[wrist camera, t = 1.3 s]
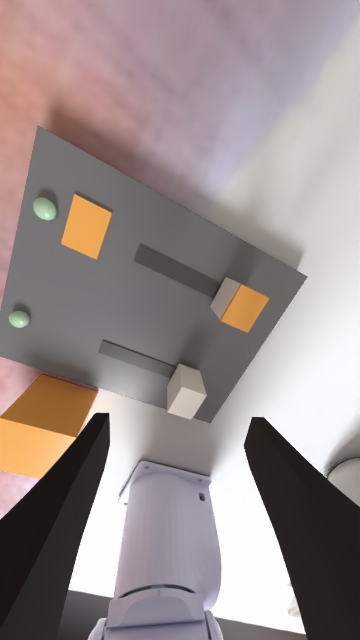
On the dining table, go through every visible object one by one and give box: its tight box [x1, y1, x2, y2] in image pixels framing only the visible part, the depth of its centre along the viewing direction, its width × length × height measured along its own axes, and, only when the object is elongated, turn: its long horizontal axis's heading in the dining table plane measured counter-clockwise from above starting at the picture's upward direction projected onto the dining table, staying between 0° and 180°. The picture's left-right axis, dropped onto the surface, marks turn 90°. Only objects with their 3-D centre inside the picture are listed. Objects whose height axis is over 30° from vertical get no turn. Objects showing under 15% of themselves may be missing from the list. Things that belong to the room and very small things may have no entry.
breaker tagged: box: [210, 277, 269, 333], centre depth 13 cm, size 2×2×3 cm
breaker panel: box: [0, 126, 307, 423], centre depth 16 cm, size 20×16×2 cm
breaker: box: [167, 364, 207, 420], centre depth 16 cm, size 2×2×3 cm
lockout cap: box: [0, 375, 98, 479], centre depth 17 cm, size 5×5×5 cm
